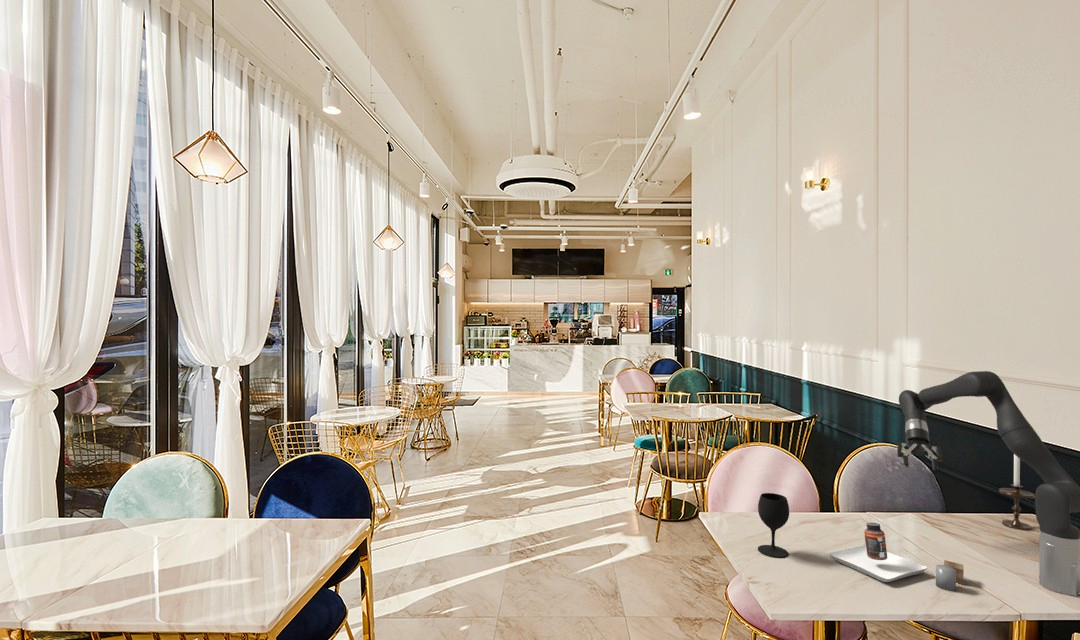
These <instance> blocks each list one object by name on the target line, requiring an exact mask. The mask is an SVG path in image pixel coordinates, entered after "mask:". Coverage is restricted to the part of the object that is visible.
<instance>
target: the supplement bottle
mask: <svg viewBox="0 0 1080 640" xmlns="http://www.w3.org/2000/svg"><path fill="white" fill-rule="evenodd" d="M863 532H864V534H863V535H864V541H865V544H866V550H867V556H868V557H869V558H871V559H875V560H886V559H887V552H888V551H887V544H886V543H887V542H886V536H885V535H886V534H885V532H884V531H883V530H882V529H881V524H880V523H879V522H873V521H872V522H866V528H865V529H864V531H863Z"/></svg>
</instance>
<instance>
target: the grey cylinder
mask: <svg viewBox="0 0 1080 640" xmlns="http://www.w3.org/2000/svg"><path fill="white" fill-rule="evenodd" d="M935 586H936V588H939V589H941V590H944V591H946V592H947V591H948V592H955V591H956V590H957V584H956V570H955V569H954V568H952V567H949V566H946V565H944V564H936V565H935Z"/></svg>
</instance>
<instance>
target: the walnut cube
mask: <svg viewBox="0 0 1080 640" xmlns="http://www.w3.org/2000/svg"><path fill="white" fill-rule="evenodd" d="M943 565H946V566H949V567H952V568H954V569H955V570H956V583H958V584H957V585H960V584H961V585H960V586H964V579H965V578H964V569H965V568H964V567H965V566H964V564H962V563H958V562H955V561H948V560H946V559H944V560H943Z"/></svg>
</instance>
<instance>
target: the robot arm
mask: <svg viewBox="0 0 1080 640" xmlns="http://www.w3.org/2000/svg"><path fill="white" fill-rule="evenodd" d="M961 397H976V398H981V397H986V398H987V400H988V401H989V402H990V403H991V405H992V407H993V408H994V411H995V413H996V430H997V433H998V435H999V436H1000V437H1001V440H1002V441H1003V442H1004V444H1005V445H1006V446H1007V448H1008V449H1009V450H1010V451H1011V453H1013V455H1014V454H1015V455H1016V456H1017V457H1019V458H1020V461H1022V462H1024V463H1025V464H1027V465H1028V466H1029V467H1030V468H1032V469H1033V470H1034V471H1035V472H1036V473H1037V475H1039V476H1040V478H1041V479H1042V481H1043V482H1044V483H1042V484H1039V485H1038V486H1037V488H1036V489H1035V493H1034V505H1035V507H1034V508H1035V518H1036V521H1037V523H1038V525H1039V530H1038V531H1039V532H1038V533H1039V535H1038V536H1039V537H1038V539H1039V549H1038V552H1039V554H1038V557H1039V558H1038V560H1039V561H1038V564H1039V565H1038V568H1039V569H1038V570H1039V573H1038V579H1039V580H1038V583H1039V584H1040V586H1041V587H1043V588H1045V589H1048V590H1051V591H1053V592H1055V593H1058V594H1064V595H1069V596H1073V595H1074V596H1073V597H1076V596H1075V595H1077V596H1079V595H1080V594H1079V593H1080V528H1079V527H1077V526H1076V525H1073V524H1072V523H1071V517H1070V516H1071V514H1072V513H1073V514H1074V513H1075V514H1076V513H1080V486H1079V485H1078V484H1077V483H1076V481H1075V480H1074V479H1073V478H1072V477H1071V476H1070V475H1069V474H1068V472H1067V471H1065V469H1064V468H1063V467H1062V466H1061V464H1060V463H1059V462H1058V461H1057V459H1056V458H1055V456H1054V455H1053V454H1052V452H1051V451H1050V450H1049V448H1048V447H1047V446H1046V445H1045V443H1044V441H1043V440H1042V439H1041V436H1040V435H1039V434H1038V433H1037V432H1036V430H1035V429H1034V427H1033V426H1032V425H1031V424H1030V422H1029V421H1028V420H1027V418H1026V417H1025V415H1024V414H1023V413H1022V411H1021V410H1020V409H1019V406H1018V405H1017V404H1016V403H1015V400H1014V399H1013V398H1012V396H1011V394H1010V393H1009V391H1008V389H1007V387H1006V385H1005V384H1004V382H1003V381H1002V379H1001V378H1000V377H999V375H997V373H994V372H992V371H989V370H984V371H983V370H980V371H969V372H966V373H964V374H962V375H960V376H958V377H956V378H954V379H953V380H950V381H948V382H945V383H941V384H938V385H937V384H936V385H934V386H930V387H926V388H923V389H921V390H920V391H919V392H915V391H912V390H910V389H906V390H903V391H901V392H900V393H899V396H898V404H899V407H900V408H901V411H902V413H903V414H904V421H905V427H904V429H905V439H906V442H902V441H900V440H899V441H898V442H897V446H896V447H897V455H896V456H897V457H898V458H901V459H902V461H903V465H904V466H905V467H906V468H909V457H911V456H912V455H914V456H920V457H926V458H927V459H928V460H930V461H931V464H932V471H936V470H938V467H939V464H938V463H939V462H940V463H942V462H943V457H944V455H943V453H942V447H941V445H940V444H939V445H938V444H937V445H936V446H933V445H931V443H930V442H931V441H930V434H929V433H930V432H929V427H928V423H927V417H926V413H925V411H927V410H928V409H929V408H931V407H933V406H935V405H939V404H945V403H947V402H949V401H951V400H952V399H955V398H961ZM904 448H906V449H907V450H906V451H905V452H902V449H904ZM932 450H933V451H932ZM934 453H936V455H934ZM1078 594H1079V595H1078Z"/></svg>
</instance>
